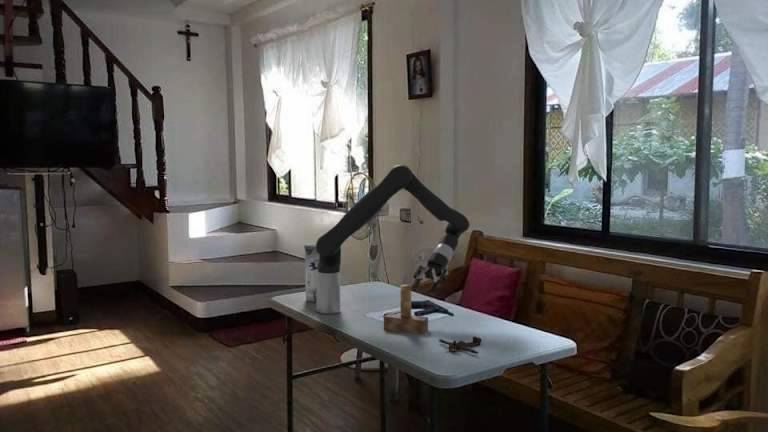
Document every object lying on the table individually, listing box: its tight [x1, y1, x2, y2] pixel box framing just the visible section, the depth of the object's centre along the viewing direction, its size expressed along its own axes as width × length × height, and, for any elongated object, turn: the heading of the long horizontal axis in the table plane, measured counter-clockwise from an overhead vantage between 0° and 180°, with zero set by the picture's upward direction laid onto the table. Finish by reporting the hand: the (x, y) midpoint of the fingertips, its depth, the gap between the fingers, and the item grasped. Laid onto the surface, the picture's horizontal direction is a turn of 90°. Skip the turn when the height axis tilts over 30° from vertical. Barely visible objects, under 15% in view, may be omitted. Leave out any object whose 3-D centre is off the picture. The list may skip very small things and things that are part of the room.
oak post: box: [400, 284, 412, 318], centre depth 232 cm, size 4×4×12 cm
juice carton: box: [304, 243, 319, 303], centre depth 281 cm, size 9×10×27 cm
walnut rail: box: [383, 312, 429, 335], centre depth 232 cm, size 16×5×5 cm, turn 67°
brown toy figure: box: [438, 336, 482, 355], centre depth 210 cm, size 18×4×14 cm
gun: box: [411, 299, 455, 317], centre depth 261 cm, size 24×3×15 cm
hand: (422, 290), depth 238 cm, fingers open, 8 cm apart
